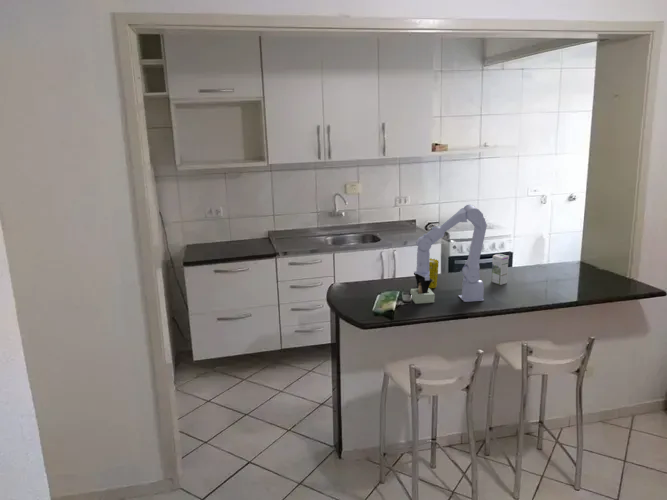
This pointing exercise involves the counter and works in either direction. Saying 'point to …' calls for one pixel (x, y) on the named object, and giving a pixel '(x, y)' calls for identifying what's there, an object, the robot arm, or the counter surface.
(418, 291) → the beech peg
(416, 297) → the socket block
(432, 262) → the food
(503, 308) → the counter surface
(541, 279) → the counter surface
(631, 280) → the counter surface
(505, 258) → the syrup box
